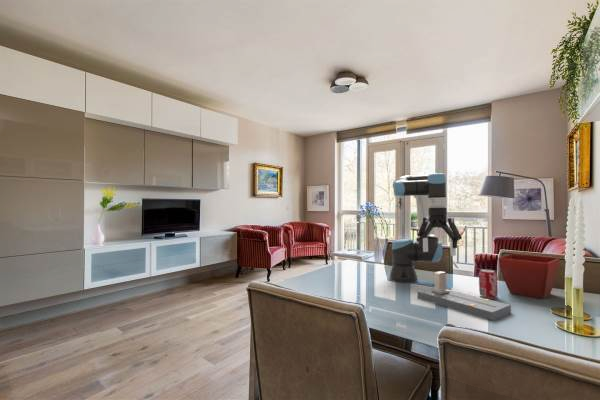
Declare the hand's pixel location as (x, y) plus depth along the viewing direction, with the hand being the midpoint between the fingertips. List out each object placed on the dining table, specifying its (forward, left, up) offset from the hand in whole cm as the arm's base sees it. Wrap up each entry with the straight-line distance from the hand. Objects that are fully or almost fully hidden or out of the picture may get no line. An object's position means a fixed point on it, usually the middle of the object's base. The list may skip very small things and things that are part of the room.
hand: (438, 253), depth 131 cm
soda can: (-21, +10, -21) cm, 31 cm away
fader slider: (0, 0, -18) cm, 18 cm away
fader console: (0, +9, -21) cm, 23 cm away
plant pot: (-42, +18, -21) cm, 51 cm away
